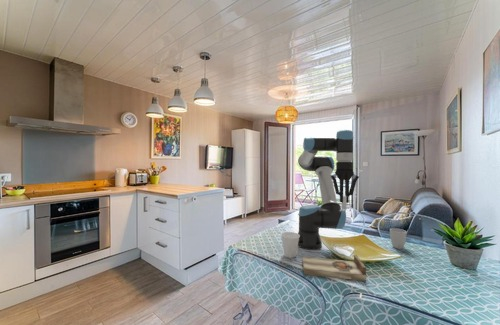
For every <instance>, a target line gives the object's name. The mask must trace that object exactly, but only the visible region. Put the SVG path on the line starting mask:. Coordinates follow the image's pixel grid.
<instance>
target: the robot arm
mask: <svg viewBox="0 0 500 325" xmlns="http://www.w3.org/2000/svg"><path fill="white" fill-rule="evenodd" d="M302 147H303V152H302V154H300V155H299V157H298V160H297V163H298V166H300V168H301V169H303V170H304V171H308V172H314V173H315V175H316V176H317V179H318V184H319V190H320V197H321V203H322V204H321V205H320V206H319V205H316V204H307V205H303V206H300V207H299V210H298V231H297V234H299V235H300V237H299V242H298V247H299V248H301V249H306V250H319V249H321V248H322V245H323V244H322V239H321V235H320V229H330V230H331V229H332V230H339V229H343V228H344V227H345V225H346V222H347V212H346V210H347V203H349V201H350V200H349V198H350V196H353V195H354V191H355V188H356V184H357V181H358V180H359V177H360V176H359V175H357V174H355V173H354V163H353V160H354V132H353V130H350V129H342V130H340V129H339V130H337V132H336V136H332V137H331V136H329V137H326V136H325V137H324V136H323V137H321V136H317V137H316V136H309V137H308V136H307V137H304V139H303V143H302ZM318 152H336V153H335V154H336V155H335V156H336V160H334V158H333V157H332V156H331V155H325V154H324V155H319V154H318ZM317 154H318V155H317ZM335 161H337V162H336V163H335ZM335 168H336V169H335ZM334 170H335V172H334V174H332V173H333V171H334ZM337 178H338V179H339V180H338V181H339V185H338V182H337ZM351 178H352V180H351ZM350 180H351V184H350ZM336 195H338V196H339V203H338V201H337V198H336V197H337V196H336ZM340 203H341V205H340Z"/></svg>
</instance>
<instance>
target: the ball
mask: <svg viewBox="0 0 500 325" xmlns="http://www.w3.org/2000/svg"><path fill="white" fill-rule="evenodd" d="M337 267H339V268H343V269H346V266H345V265H344V264H343V263H339V264H338V265H337Z"/></svg>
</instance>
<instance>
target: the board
mask: <svg viewBox="0 0 500 325" xmlns="http://www.w3.org/2000/svg"><path fill="white" fill-rule="evenodd" d="M301 262H302V268H303V274H304V275H309V276H317V277H327V278H335V279H336V278H337V279H343V280H344V279H345V280H346V279H347V280H353V281H361V282H362V281H363V282H366V280H367V267H366V266H365V264H364V263H363V262H362V260H361V259H360V258H359V256H358V255H357V254H356V255H353V261H352V260H342V259H331V258H323V257H322V258H321V257H312V256H311V257H310V256H302V259H301ZM339 263H343V264H344V265H345V266H346V269H343V268H339V267H337V265H338V264H339Z"/></svg>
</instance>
